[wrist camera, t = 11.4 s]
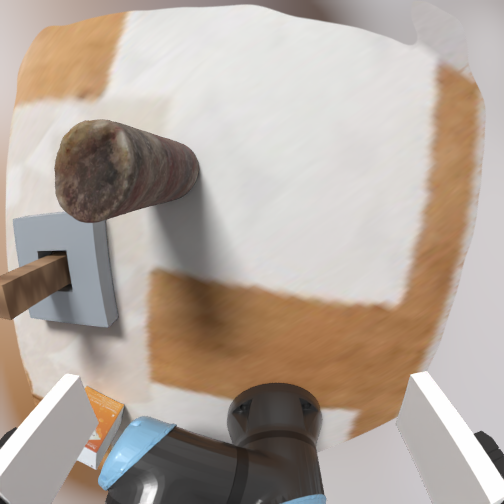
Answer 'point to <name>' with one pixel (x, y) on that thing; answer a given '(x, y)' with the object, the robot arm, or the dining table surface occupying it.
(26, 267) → the peg
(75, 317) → the socket
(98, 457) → the small box
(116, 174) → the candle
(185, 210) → the dining table surface
